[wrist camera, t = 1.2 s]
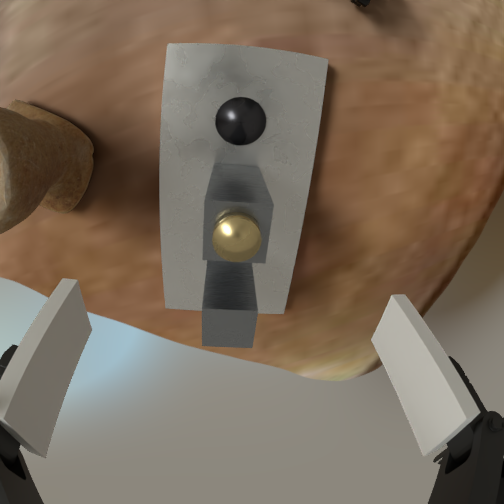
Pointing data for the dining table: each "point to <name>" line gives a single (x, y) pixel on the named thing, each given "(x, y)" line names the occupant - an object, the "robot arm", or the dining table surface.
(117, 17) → the dining table surface
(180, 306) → the grey base with knobs
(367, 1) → the valve
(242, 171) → the block
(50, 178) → the stone cup
